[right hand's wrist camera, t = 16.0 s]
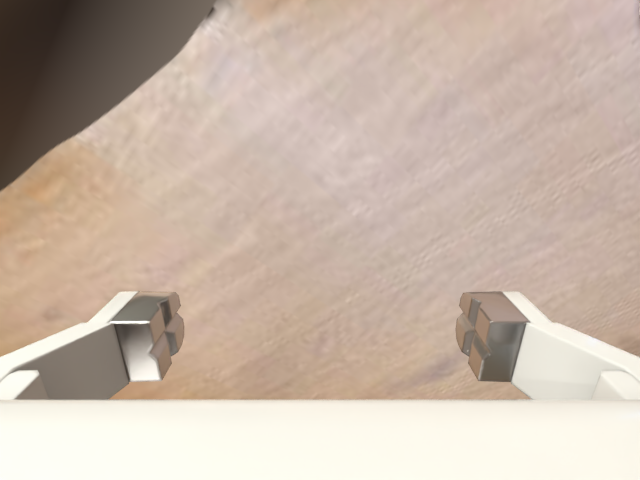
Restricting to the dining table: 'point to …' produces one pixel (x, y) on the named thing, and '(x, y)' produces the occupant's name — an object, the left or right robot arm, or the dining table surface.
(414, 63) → the dining table surface
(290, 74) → the dining table surface
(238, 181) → the dining table surface
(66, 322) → the dining table surface
